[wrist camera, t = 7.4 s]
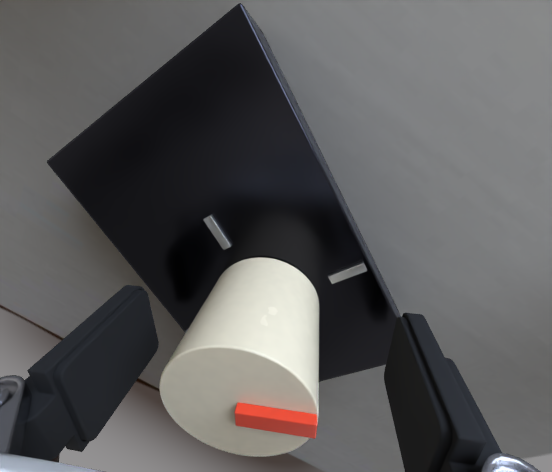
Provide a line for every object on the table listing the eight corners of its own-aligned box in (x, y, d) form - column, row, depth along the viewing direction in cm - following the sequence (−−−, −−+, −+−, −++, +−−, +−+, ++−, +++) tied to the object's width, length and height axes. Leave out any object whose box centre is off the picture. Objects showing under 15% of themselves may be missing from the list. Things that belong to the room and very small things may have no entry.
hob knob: (219, 337, 13) (166, 454, 8) (210, 252, 11) (137, 345, 7) (315, 349, 12) (312, 481, 8) (323, 261, 10) (325, 370, 6)
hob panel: (398, 311, 14) (418, 360, 11) (253, 356, 17) (240, 405, 14) (261, 30, 10) (238, -2, 7) (101, 151, 13) (40, 162, 10)
